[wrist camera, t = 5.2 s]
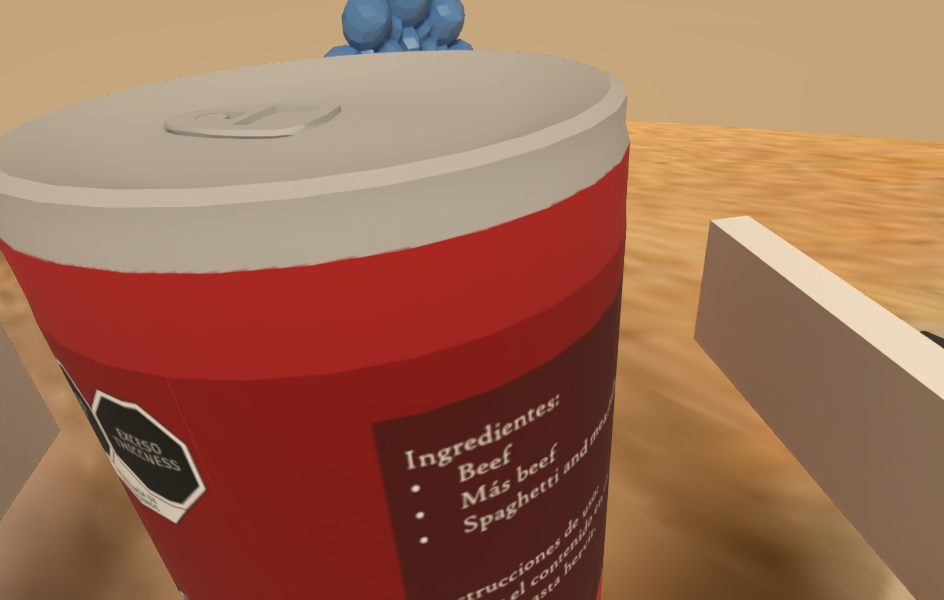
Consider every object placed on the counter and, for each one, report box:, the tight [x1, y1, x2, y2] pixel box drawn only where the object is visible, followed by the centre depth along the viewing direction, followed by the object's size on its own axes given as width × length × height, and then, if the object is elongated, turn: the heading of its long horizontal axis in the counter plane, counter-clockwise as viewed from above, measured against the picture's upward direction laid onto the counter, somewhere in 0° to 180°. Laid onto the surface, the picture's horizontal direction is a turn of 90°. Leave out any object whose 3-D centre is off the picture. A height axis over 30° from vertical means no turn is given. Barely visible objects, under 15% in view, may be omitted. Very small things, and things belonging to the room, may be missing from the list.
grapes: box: [324, 0, 474, 57], centre depth 36 cm, size 12×7×12 cm, turn 135°
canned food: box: [0, 50, 630, 600], centre depth 11 cm, size 8×8×11 cm
